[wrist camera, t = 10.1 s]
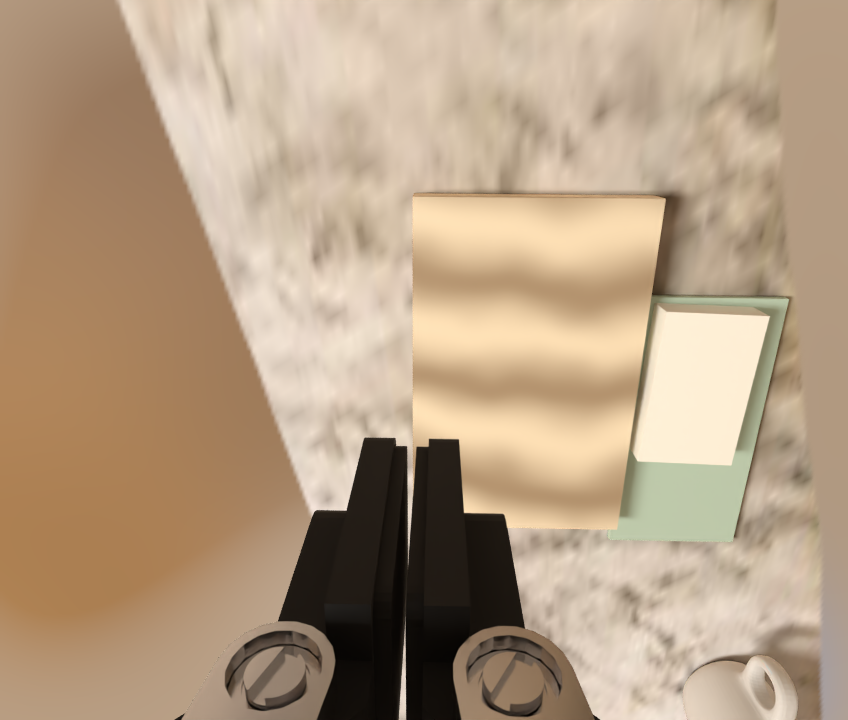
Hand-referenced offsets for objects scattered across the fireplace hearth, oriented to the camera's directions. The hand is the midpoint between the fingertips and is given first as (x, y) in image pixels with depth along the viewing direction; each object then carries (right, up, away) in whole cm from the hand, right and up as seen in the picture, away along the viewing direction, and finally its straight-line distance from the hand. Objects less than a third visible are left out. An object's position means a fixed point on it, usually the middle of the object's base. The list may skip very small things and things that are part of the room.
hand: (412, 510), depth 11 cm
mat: (+18, -2, +29) cm, 34 cm away
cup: (+24, -22, +37) cm, 50 cm away
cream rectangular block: (+17, +1, +27) cm, 32 cm away
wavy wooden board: (+7, +2, +28) cm, 29 cm away
